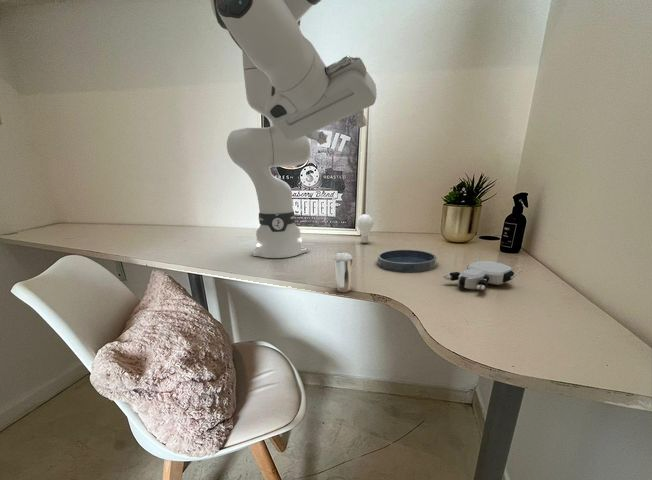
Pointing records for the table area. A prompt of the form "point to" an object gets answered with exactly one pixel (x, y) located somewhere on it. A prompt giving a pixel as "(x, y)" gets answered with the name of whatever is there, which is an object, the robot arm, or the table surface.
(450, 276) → the robot toy
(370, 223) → the lightbulb
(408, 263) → the blue round tray
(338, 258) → the salt shaker
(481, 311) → the table surface
